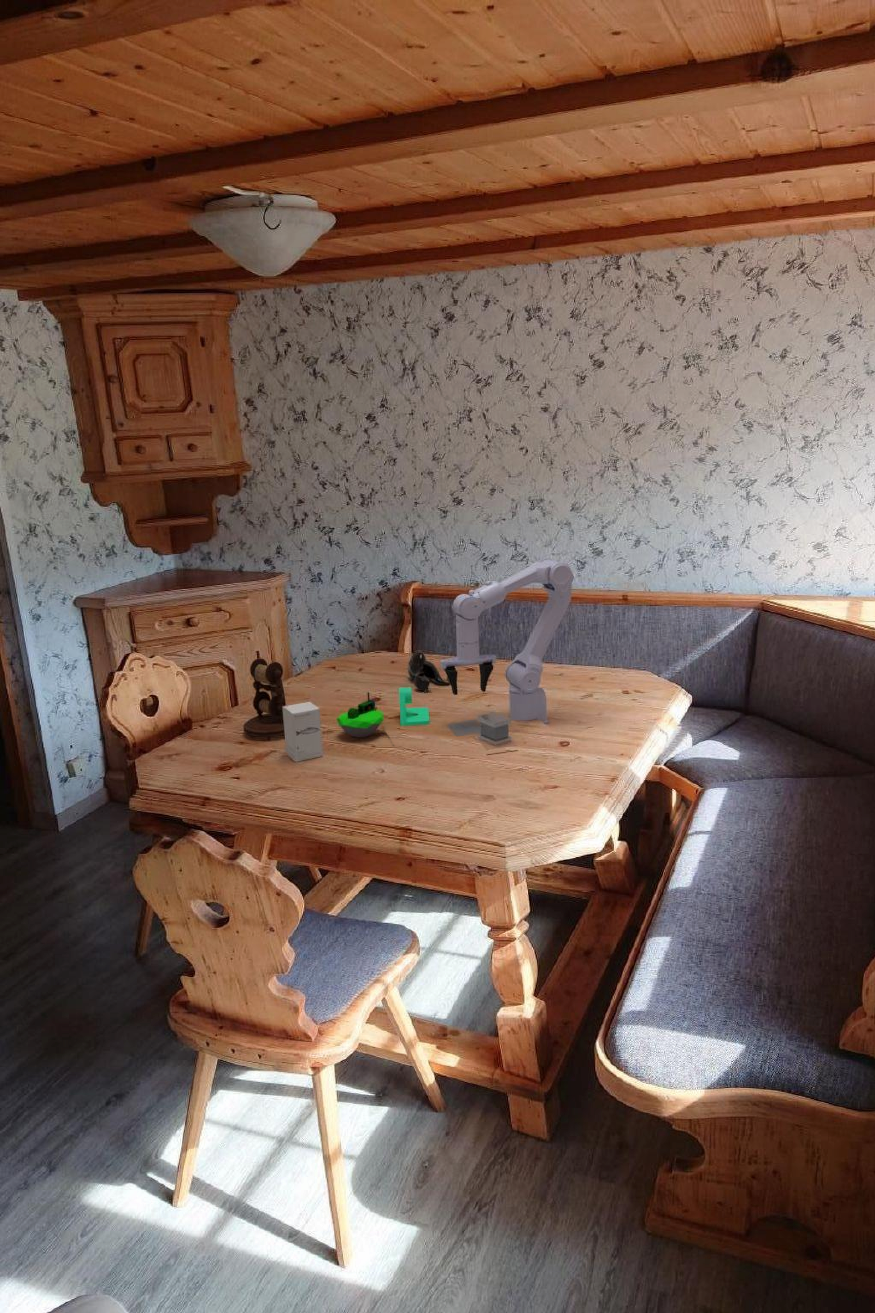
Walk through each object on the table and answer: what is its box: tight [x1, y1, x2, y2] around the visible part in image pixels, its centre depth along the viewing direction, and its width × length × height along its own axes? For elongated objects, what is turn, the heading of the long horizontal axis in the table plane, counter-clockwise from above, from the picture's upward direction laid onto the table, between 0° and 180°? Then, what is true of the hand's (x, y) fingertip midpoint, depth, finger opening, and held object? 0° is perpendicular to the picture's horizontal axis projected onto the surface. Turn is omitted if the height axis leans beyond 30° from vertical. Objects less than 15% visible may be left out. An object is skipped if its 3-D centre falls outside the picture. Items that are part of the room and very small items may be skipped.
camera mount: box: [398, 686, 430, 727], centre depth 249 cm, size 12×8×10 cm, turn 2°
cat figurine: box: [406, 649, 451, 694], centre depth 285 cm, size 10×14×18 cm
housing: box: [477, 711, 512, 747], centre depth 229 cm, size 5×7×6 cm
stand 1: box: [445, 719, 481, 737], centre depth 240 cm, size 8×10×2 cm
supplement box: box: [282, 701, 324, 763], centre depth 228 cm, size 7×7×13 cm
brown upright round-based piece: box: [242, 657, 287, 742], centre depth 245 cm, size 15×15×20 cm
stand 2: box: [474, 735, 519, 756], centre depth 230 cm, size 8×10×2 cm
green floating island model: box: [336, 691, 384, 739], centre depth 241 cm, size 12×12×11 cm
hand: (469, 692), depth 240 cm, fingers open, 7 cm apart
